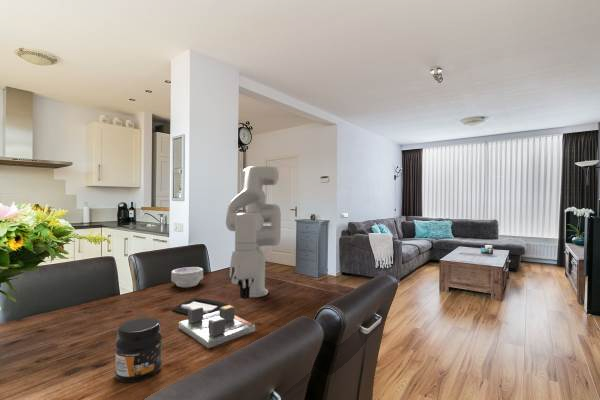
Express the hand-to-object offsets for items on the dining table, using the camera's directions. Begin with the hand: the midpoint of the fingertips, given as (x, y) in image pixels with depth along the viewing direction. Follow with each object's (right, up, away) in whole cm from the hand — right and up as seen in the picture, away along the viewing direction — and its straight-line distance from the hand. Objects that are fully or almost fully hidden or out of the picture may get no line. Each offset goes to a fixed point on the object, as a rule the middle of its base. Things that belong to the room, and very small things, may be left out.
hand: (244, 298), depth 110 cm
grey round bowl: (-37, -8, +45) cm, 60 cm away
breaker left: (-16, -6, -5) cm, 18 cm away
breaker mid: (-5, -6, -4) cm, 9 cm away
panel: (-8, -8, -7) cm, 14 cm away
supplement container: (-21, -8, -33) cm, 40 cm away
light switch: (-19, -9, +11) cm, 24 cm away
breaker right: (-6, -6, -15) cm, 17 cm away
